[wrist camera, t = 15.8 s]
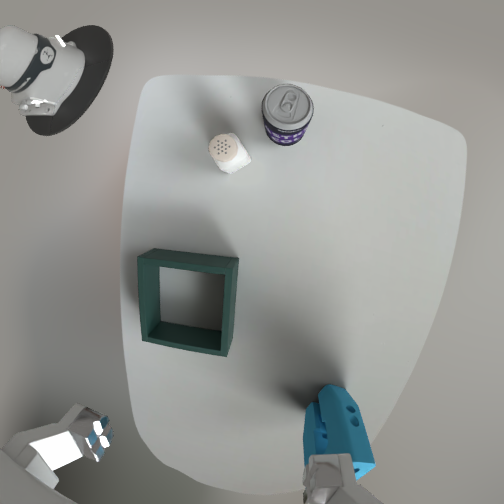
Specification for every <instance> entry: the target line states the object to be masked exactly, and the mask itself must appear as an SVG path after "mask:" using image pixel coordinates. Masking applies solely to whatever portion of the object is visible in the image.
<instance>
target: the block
mask: <svg viewBox="0 0 504 504" xmlns="http://www.w3.org/2000/svg"><path fill="white" fill-rule="evenodd" d="M318 398H319V403H315V402H311V403H310V405H309V406H308V407H307V408H306V414H305V424H304V433H303V446H304V464H305V466H306V465H307V464H308V463H309V457H310V456H311V455H316V454H344V453H349V454H350V455H351V458H352V463H353V467H354V472H355V477H356V481H357V480H358V479H359V478H361V477H362V476H363V475H365V474H366V473H367V472H369V471H370V470H371V469H373V468H374V467H375V461H374V458H373V454H372V451H371V447H370V443H369V440H368V436H367V433H366V430H365V426H364V423H363V420H362V417H361V413H360V410H359V407H358V405H357V404H356V402H355V401H354V400H353V398H352V397H351V396H350V395H349V393H348V392H347V391H346V389H344V388H341V387H338V386H335V385H331V384H328V385H326V386H324V388H323V389H322V390H321V391H320V393H319V394H318Z"/></svg>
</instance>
